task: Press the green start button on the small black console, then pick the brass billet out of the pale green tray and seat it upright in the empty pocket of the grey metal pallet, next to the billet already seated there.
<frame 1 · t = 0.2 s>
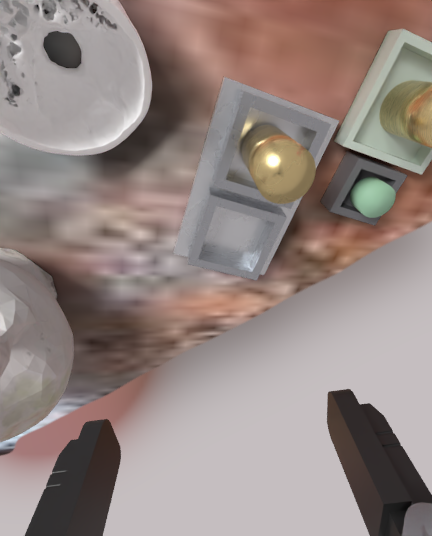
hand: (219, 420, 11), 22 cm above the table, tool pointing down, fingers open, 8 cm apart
skull bowl: (59, 37, 23), on the table
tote: (399, 107, 27), on the table
billet 2: (403, 108, 26), point 1 cm above the table, touching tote
console: (355, 184, 30), on the table
billet 1: (264, 150, 27), point 1 cm above the table, touching pallet
pallet: (246, 189, 30), on the table
ceramic pitcher: (8, 284, 34), on the table
start button: (371, 197, 27), point 3 cm above the table, slide at 0.0 cm
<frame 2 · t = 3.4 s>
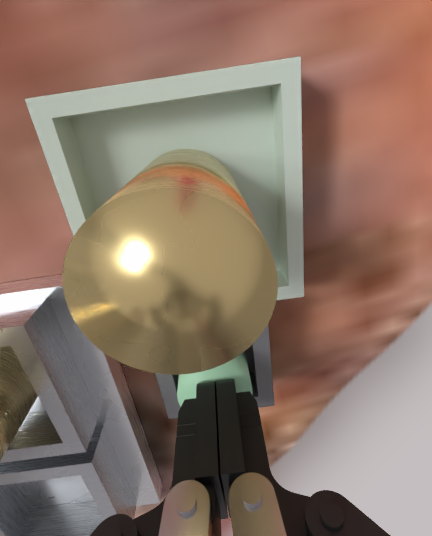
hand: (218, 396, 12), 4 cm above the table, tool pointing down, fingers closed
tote: (188, 199, 13), on the table
billet 2: (187, 203, 12), point 1 cm above the table, touching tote
console: (212, 336, 16), on the table
billet 1: (1, 372, 15), point 1 cm above the table, touching pallet
pallet: (44, 409, 18), on the table
start button: (214, 376, 13), point 3 cm above the table, slide at 0.6 cm, touching gripper
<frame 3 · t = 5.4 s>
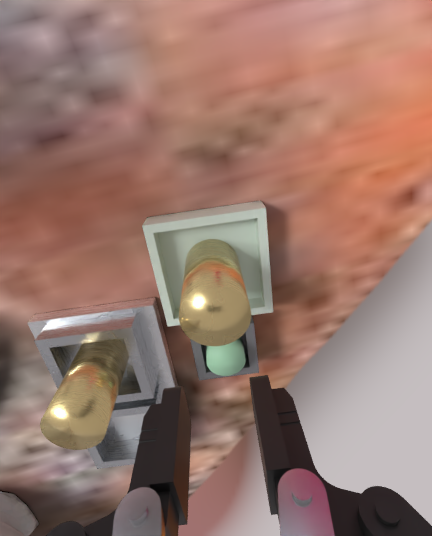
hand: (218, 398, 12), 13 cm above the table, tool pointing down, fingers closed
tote: (211, 260, 24), on the table
billet 2: (212, 264, 24), point 1 cm above the table, touching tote
console: (223, 333, 27), on the table
billet 1: (104, 353, 26), point 1 cm above the table, touching pallet
pallet: (121, 378, 29), on the table
start button: (225, 352, 25), point 2 cm above the table, slide at 0.9 cm
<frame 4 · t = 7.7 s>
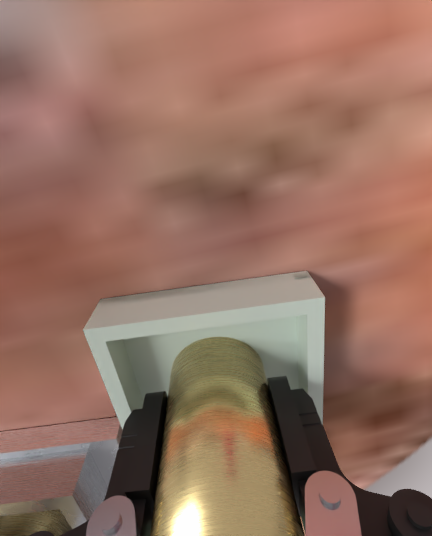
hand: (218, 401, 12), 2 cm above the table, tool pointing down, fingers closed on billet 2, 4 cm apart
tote: (216, 364, 14), on the table
billet 2: (217, 373, 14), point 1 cm above the table, touching gripper, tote
billet 1: (41, 502, 16), point 1 cm above the table, touching pallet
pallet: (75, 517, 19), on the table
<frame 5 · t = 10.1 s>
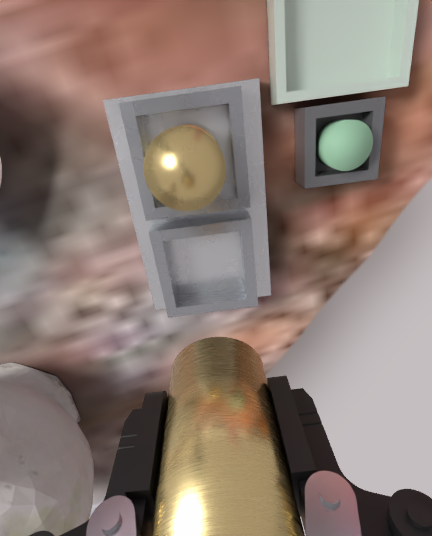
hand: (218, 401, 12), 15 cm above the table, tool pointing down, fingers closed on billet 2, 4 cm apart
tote: (333, 23, 20), on the table
billet 2: (217, 374, 14), point 14 cm above the table, touching gripper
console: (329, 142, 23), on the table
billet 1: (190, 155, 22), point 1 cm above the table, touching pallet
pallet: (199, 207, 24), on the table
ceramic pitcher: (24, 397, 33), on the table
start button: (342, 145, 20), point 2 cm above the table, slide at 0.9 cm
when the fingers open (3 cm above the table, at t = 12.7 s): billet 2 stays where it is, resting on pallet.
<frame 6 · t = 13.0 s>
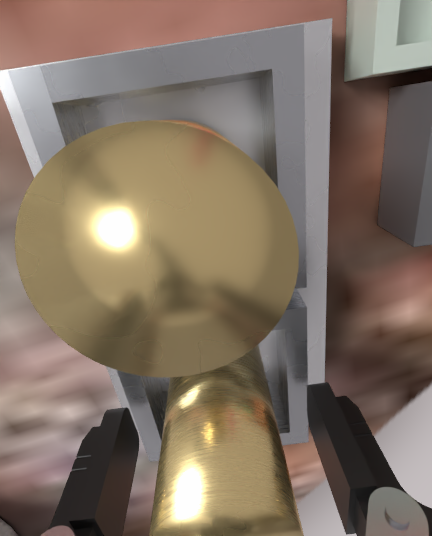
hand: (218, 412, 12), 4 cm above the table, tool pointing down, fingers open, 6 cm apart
billet 2: (216, 359, 14), point 1 cm above the table, touching pallet
billet 1: (185, 183, 11), point 1 cm above the table, touching pallet
pallet: (202, 270, 14), on the table
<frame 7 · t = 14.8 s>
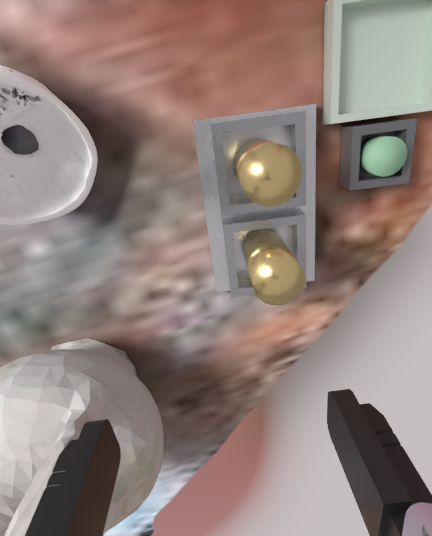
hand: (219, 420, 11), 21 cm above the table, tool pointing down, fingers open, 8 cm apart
skull bowl: (18, 134, 27), on the table
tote: (374, 61, 25), on the table
billet 2: (263, 249, 30), point 1 cm above the table, touching pallet
console: (367, 153, 28), on the table
billet 1: (257, 163, 27), point 1 cm above the table, touching pallet
pallet: (258, 206, 30), on the table
ceramic pitcher: (94, 370, 38), on the table
start button: (381, 156, 26), point 2 cm above the table, slide at 0.9 cm
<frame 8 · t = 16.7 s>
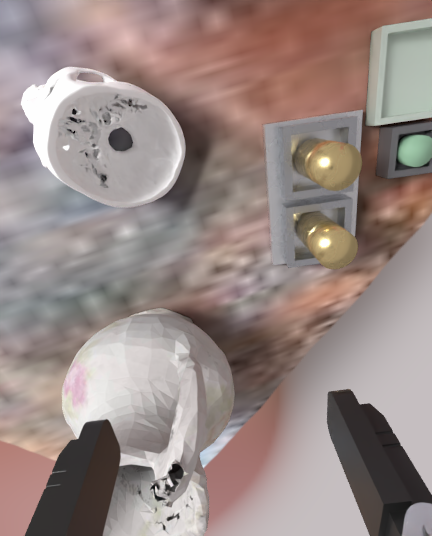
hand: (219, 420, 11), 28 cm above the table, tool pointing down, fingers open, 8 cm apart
skull bowl: (115, 134, 33), on the table
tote: (408, 75, 31), on the table
billet 2: (313, 228, 37), point 1 cm above the table, touching pallet
console: (400, 148, 34), on the table
billet 1: (313, 158, 33), point 1 cm above the table, touching pallet
pallet: (310, 193, 36), on the table
ceramic pitcher: (163, 336, 45), on the table
start button: (413, 150, 32), point 2 cm above the table, slide at 0.9 cm
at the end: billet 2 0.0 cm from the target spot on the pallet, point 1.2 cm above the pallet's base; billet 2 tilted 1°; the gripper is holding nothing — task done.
